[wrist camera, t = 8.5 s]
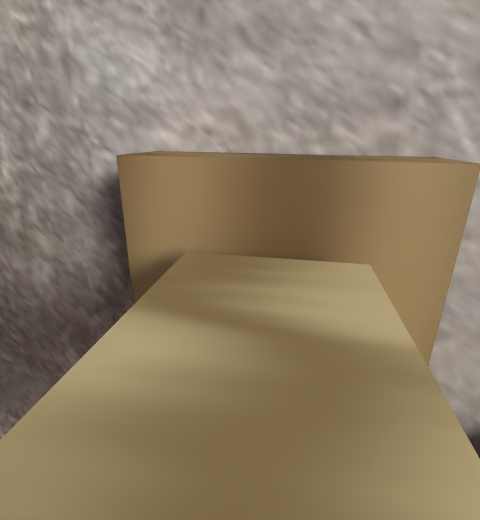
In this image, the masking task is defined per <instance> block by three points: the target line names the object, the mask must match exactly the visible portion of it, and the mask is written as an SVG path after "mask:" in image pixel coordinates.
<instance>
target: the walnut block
mask: <svg viewBox="0 0 480 520" xmlns="http://www.w3.org/2000/svg"><path fill="white" fill-rule="evenodd" d="M116 157H117V165H118V174H119V182H120V191H121V200H122V208H123V217H124V225H125V234H126V243H127V251H128V260H129V269H130V277H131V286H132V294H133V303H134V304H135V303H136V302H137V301H138V300H139V299H140V298H141V297H142V296H143V295H144V294H145V293H146V292H147V291H148V290H149V289H150V288H151V287H152V286H153V285H154V284H155V283H156V282H157V281H158V280H159V279H160V278H161V277H162V276H163V275H164V274H165V273H166V272H167V271H168V270H169V269H170V268H171V267H172V266H173V265H174V264H175V263H176V262H177V261H178V260H179V259H180V257H181V256H182V255H183V254H184V253H185V252H197V253H211V254H226V255H240V256H254V257H268V258H283V259H297V260H311V261H325V262H340V263H354V264H368V265H371V267H372V269H373V271H374V272H375V274H376V276H377V278H378V279H379V281H380V283H381V285H382V287H383V288H384V290H385V292H386V294H387V295H388V297H389V299H390V301H391V303H392V304H393V306H394V308H395V310H396V311H397V313H398V315H399V317H400V318H401V320H402V322H403V324H404V326H405V327H406V329H407V331H408V333H409V334H410V336H411V338H412V340H413V341H414V343H415V345H416V347H417V349H418V350H419V352H420V354H421V356H422V357H423V359H424V361H425V363H426V365H427V366H428V364H429V360H430V357H431V353H432V349H433V345H434V341H435V338H436V334H437V330H438V326H439V323H440V319H441V315H442V311H443V307H444V304H445V300H446V296H447V292H448V289H449V285H450V281H451V277H452V273H453V270H454V266H455V262H456V258H457V255H458V251H459V247H460V243H461V239H462V236H463V232H464V228H465V224H466V221H467V217H468V213H469V209H470V205H471V202H472V198H473V194H474V190H475V187H476V183H477V179H478V175H479V171H480V164H478V163H471V162H464V161H457V160H451V159H444V158H437V157H398V156H352V155H305V154H258V153H212V152H165V151H155V152H145V153H135V154H125V155H116Z"/></svg>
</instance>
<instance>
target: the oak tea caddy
mask: <svg viewBox="0 0 480 520" xmlns="http://www.w3.org/2000/svg"><path fill="white" fill-rule="evenodd" d="M0 520H480V458H479V457H478V455H477V453H476V451H475V450H474V448H473V446H472V444H471V442H470V441H469V439H468V437H467V435H466V434H465V432H464V430H463V428H462V427H461V425H460V423H459V421H458V419H457V418H456V416H455V414H454V412H453V411H452V409H451V407H450V405H449V404H448V402H447V400H446V398H445V396H444V395H443V393H442V391H441V389H440V388H439V386H438V384H437V382H436V380H435V379H434V377H433V375H432V373H431V372H430V370H429V368H428V366H427V365H426V363H425V361H424V359H423V357H422V356H421V354H420V352H419V350H418V349H417V347H416V345H415V343H414V341H413V340H412V338H411V336H410V334H409V333H408V331H407V329H406V327H405V326H404V324H403V322H402V320H401V318H400V317H399V315H398V313H397V311H396V310H395V308H394V306H393V304H392V303H391V301H390V299H389V297H388V295H387V294H386V292H385V290H384V288H383V287H382V285H381V283H380V281H379V279H378V278H377V276H376V274H375V272H374V271H373V269H372V267H371V265H368V264H354V263H340V262H325V261H311V260H297V259H283V258H268V257H254V256H240V255H226V254H211V253H197V252H185V253H184V254H183V255H182V256H181V257H180V259H179V260H178V261H177V262H176V263H175V264H174V265H173V266H172V267H171V268H170V269H169V270H168V271H167V272H166V273H165V274H164V275H163V276H162V277H161V278H160V279H159V280H158V281H157V282H156V283H155V284H154V285H153V286H152V287H151V288H150V289H149V290H148V291H147V292H146V293H145V294H144V295H143V296H142V297H141V298H140V299H139V300H138V301H137V302H136V303H135V304H134V305H133V306H132V307H131V308H130V309H129V310H128V311H127V312H126V313H125V314H124V315H123V316H122V317H121V318H120V319H119V320H118V321H117V322H116V323H115V324H114V325H113V326H112V327H111V328H110V329H109V330H108V331H107V332H106V333H105V334H104V335H103V336H102V337H101V338H100V339H99V340H98V341H97V343H96V344H95V345H94V346H93V347H92V348H91V349H90V350H89V351H88V352H87V353H86V354H85V355H84V356H83V357H82V358H81V359H80V360H79V361H78V362H77V363H76V364H75V365H74V366H73V367H72V368H71V369H70V370H69V371H68V372H67V373H66V374H65V375H64V376H63V377H62V378H61V379H60V380H59V381H58V382H57V383H56V384H55V385H54V386H53V387H52V388H51V389H50V390H49V391H48V392H47V393H46V394H45V395H44V396H43V397H42V398H41V399H40V400H39V401H38V402H37V403H36V404H35V405H34V406H33V407H32V408H31V409H30V410H29V411H28V412H27V413H26V414H25V415H24V416H23V417H22V418H21V419H20V420H19V421H18V422H17V423H16V424H15V426H14V427H13V428H12V429H11V430H10V431H9V432H8V433H7V434H6V435H5V436H4V437H3V438H2V439H1V440H0Z"/></svg>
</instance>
